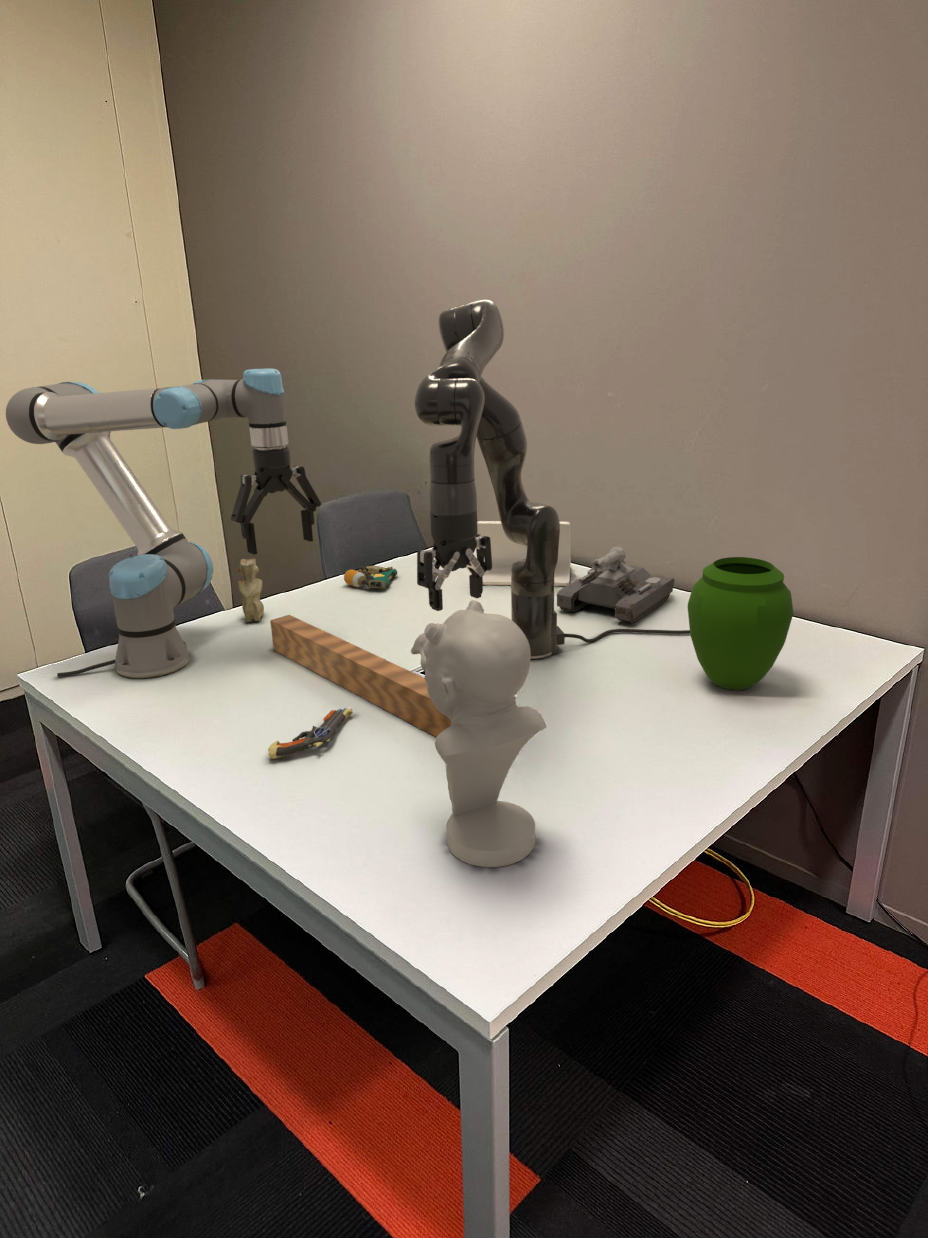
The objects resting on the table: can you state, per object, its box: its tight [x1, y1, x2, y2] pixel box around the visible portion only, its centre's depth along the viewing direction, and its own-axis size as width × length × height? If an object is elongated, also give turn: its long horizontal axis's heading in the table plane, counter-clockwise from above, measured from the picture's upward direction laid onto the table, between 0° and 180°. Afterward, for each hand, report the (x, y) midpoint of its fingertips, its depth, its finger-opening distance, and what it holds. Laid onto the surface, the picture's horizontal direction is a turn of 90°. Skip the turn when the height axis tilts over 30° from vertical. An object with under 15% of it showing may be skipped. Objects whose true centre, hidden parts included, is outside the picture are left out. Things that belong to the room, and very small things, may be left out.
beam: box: [269, 614, 451, 738], centre depth 170 cm, size 66×5×7 cm, turn 42°
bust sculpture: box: [410, 599, 547, 868], centre depth 121 cm, size 16×24×35 cm
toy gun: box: [267, 707, 354, 760], centre depth 153 cm, size 3×19×10 cm
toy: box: [556, 546, 676, 624], centre depth 212 cm, size 25×20×15 cm
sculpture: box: [237, 558, 265, 623], centre depth 209 cm, size 6×7×15 cm
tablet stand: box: [477, 520, 572, 587], centre depth 236 cm, size 18×25×17 cm
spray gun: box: [343, 565, 398, 589], centre depth 236 cm, size 4×17×15 cm
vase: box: [687, 556, 794, 691], centre depth 166 cm, size 20×20×24 cm
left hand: (281, 546), depth 183 cm, fingers open, 13 cm apart
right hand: (456, 603), depth 142 cm, fingers open, 8 cm apart
